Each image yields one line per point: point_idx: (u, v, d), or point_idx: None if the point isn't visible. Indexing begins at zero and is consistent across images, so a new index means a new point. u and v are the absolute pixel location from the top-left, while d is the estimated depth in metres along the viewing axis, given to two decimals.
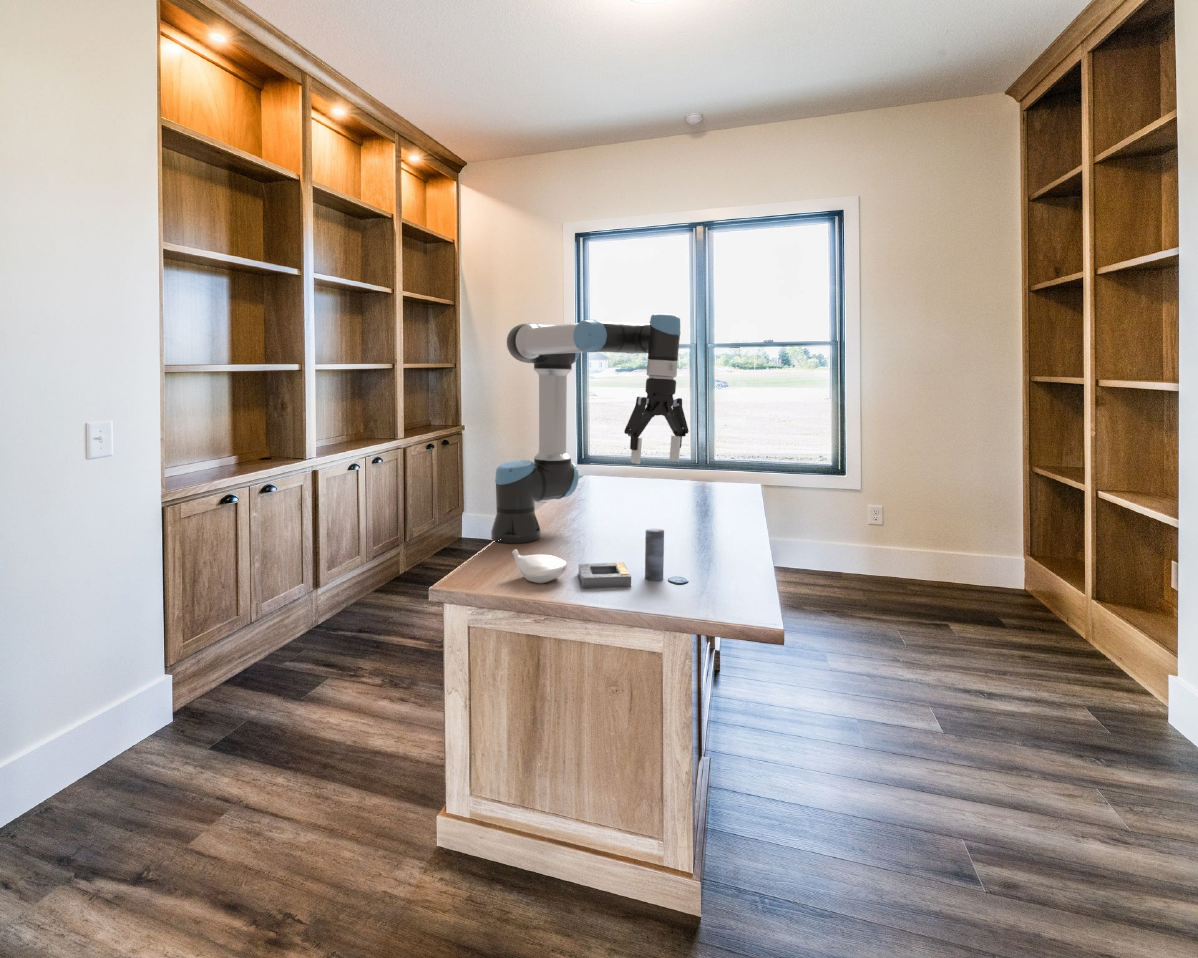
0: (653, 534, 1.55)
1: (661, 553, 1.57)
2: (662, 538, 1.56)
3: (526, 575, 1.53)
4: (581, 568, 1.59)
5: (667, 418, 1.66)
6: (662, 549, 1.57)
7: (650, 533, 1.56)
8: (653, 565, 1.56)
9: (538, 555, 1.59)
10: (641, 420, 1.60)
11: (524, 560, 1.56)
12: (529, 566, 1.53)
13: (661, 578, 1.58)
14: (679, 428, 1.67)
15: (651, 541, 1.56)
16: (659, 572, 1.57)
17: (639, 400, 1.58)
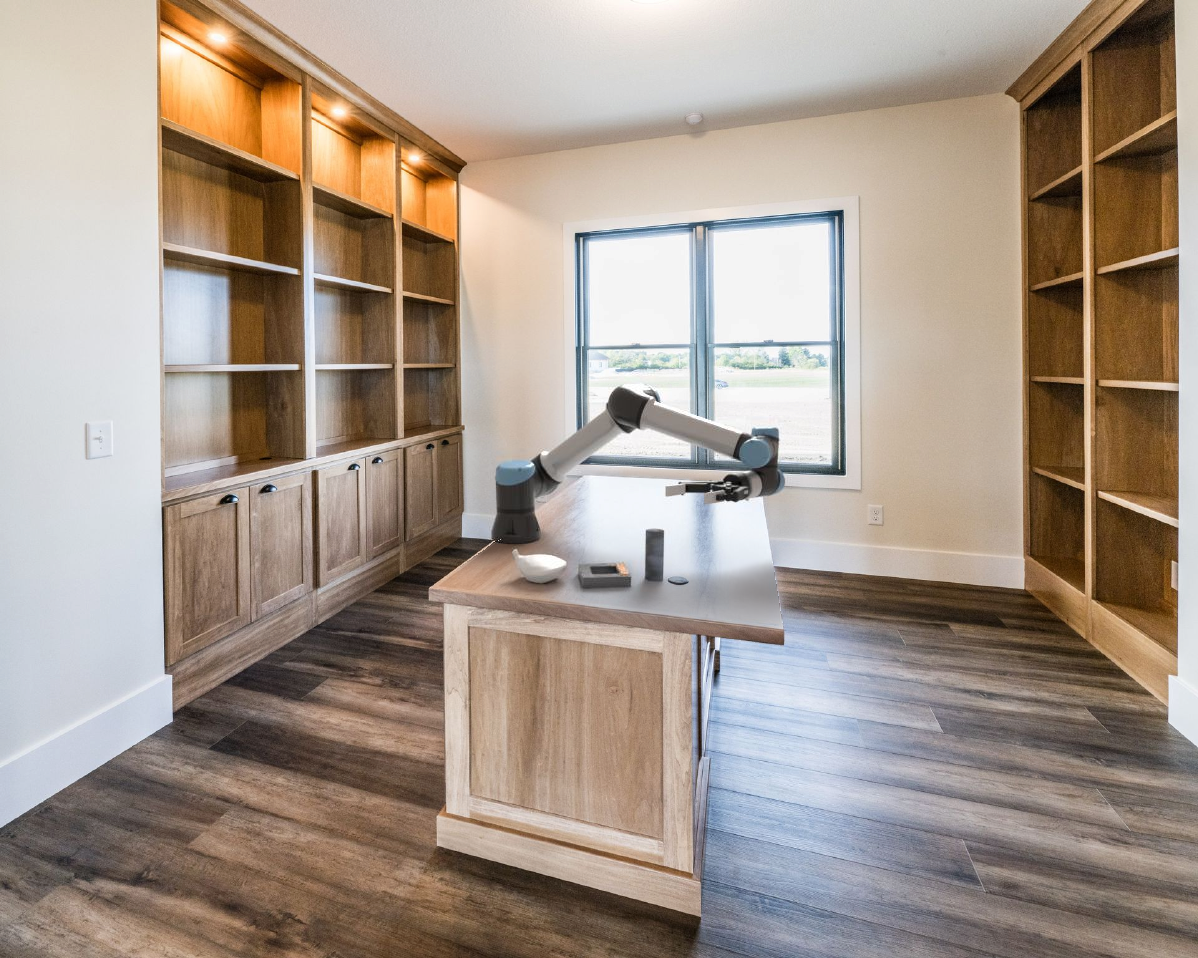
0: (653, 534, 1.55)
1: (661, 553, 1.57)
2: (662, 538, 1.56)
3: (526, 575, 1.53)
4: (581, 568, 1.59)
5: (704, 486, 1.72)
6: (662, 549, 1.57)
7: (650, 533, 1.56)
8: (653, 565, 1.56)
9: (538, 555, 1.59)
10: None
11: (524, 560, 1.56)
12: (529, 566, 1.53)
13: (661, 578, 1.58)
14: None
15: (651, 541, 1.56)
16: (659, 572, 1.57)
17: (747, 491, 1.67)
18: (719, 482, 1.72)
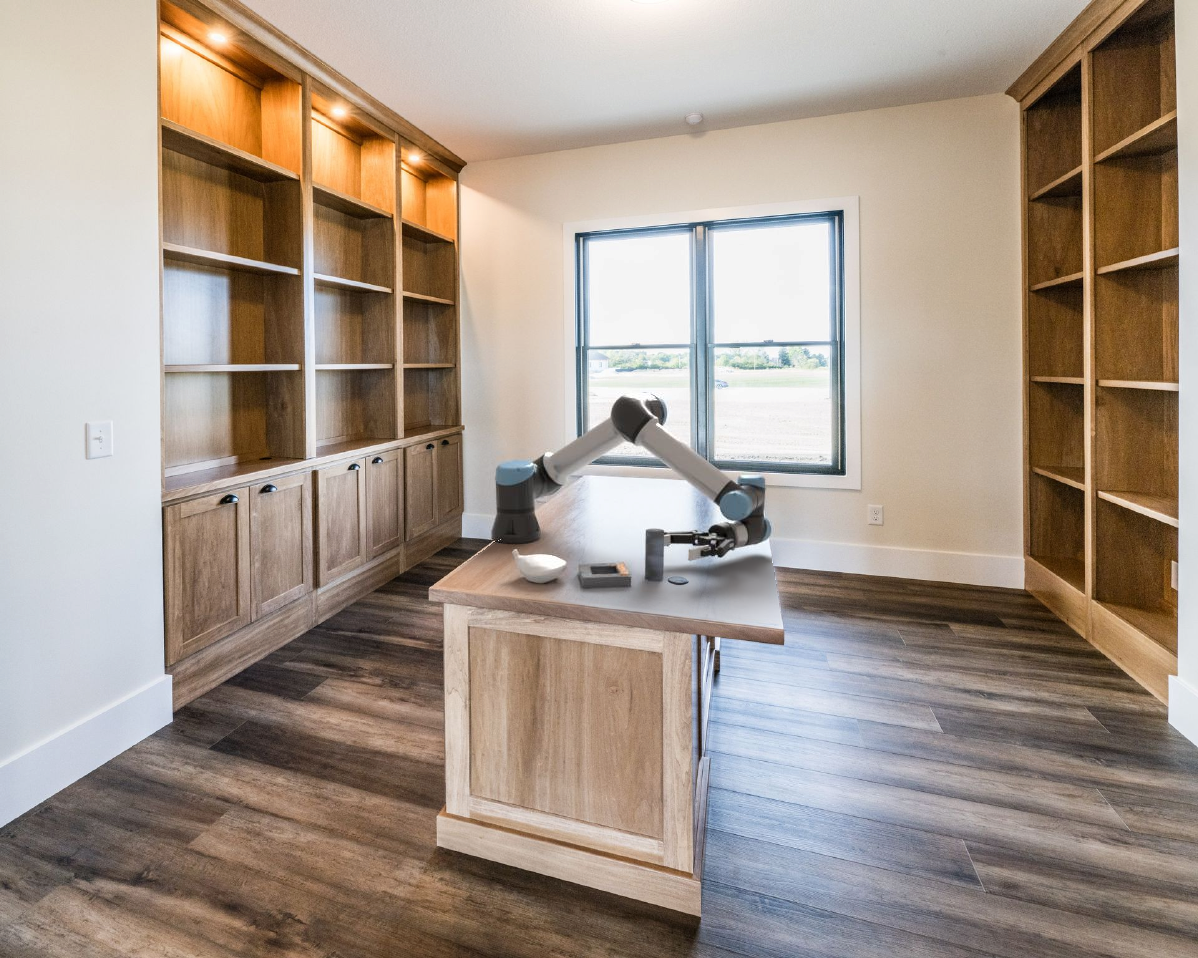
0: (653, 534, 1.55)
1: (661, 553, 1.57)
2: (662, 538, 1.56)
3: (526, 575, 1.53)
4: (581, 568, 1.59)
5: (690, 537, 1.70)
6: (662, 549, 1.57)
7: (650, 533, 1.56)
8: (653, 565, 1.56)
9: (538, 555, 1.59)
10: None
11: (524, 560, 1.56)
12: (529, 566, 1.53)
13: (661, 578, 1.58)
14: None
15: (651, 541, 1.56)
16: (659, 572, 1.57)
17: (732, 544, 1.65)
18: (704, 533, 1.70)
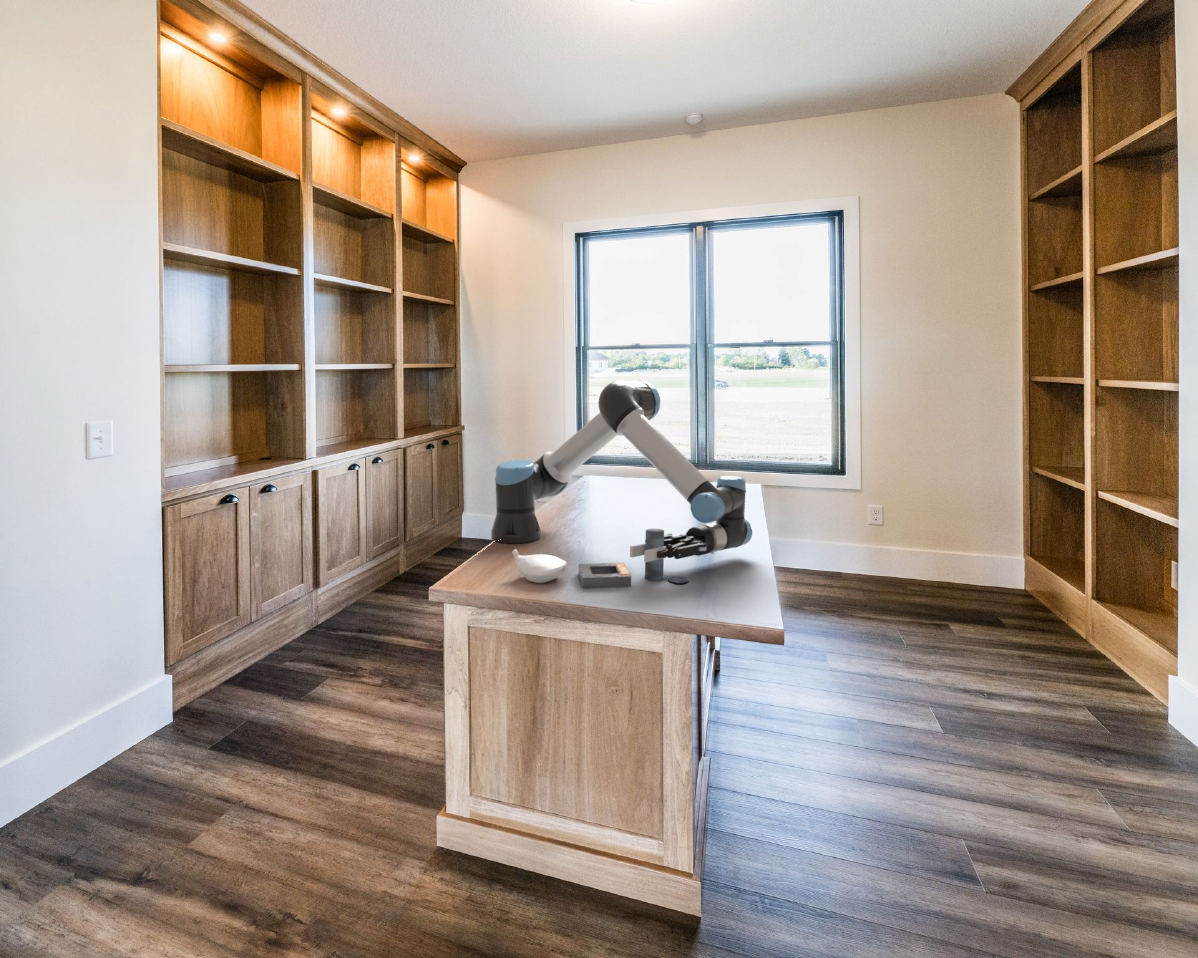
0: (653, 534, 1.55)
1: None
2: (662, 538, 1.56)
3: (526, 575, 1.53)
4: (581, 568, 1.59)
5: (670, 542, 1.64)
6: None
7: (650, 533, 1.56)
8: (653, 565, 1.56)
9: (538, 555, 1.59)
10: None
11: (524, 560, 1.57)
12: (529, 566, 1.53)
13: (661, 578, 1.58)
14: None
15: (651, 541, 1.56)
16: (659, 572, 1.57)
17: (704, 549, 1.60)
18: (683, 536, 1.65)
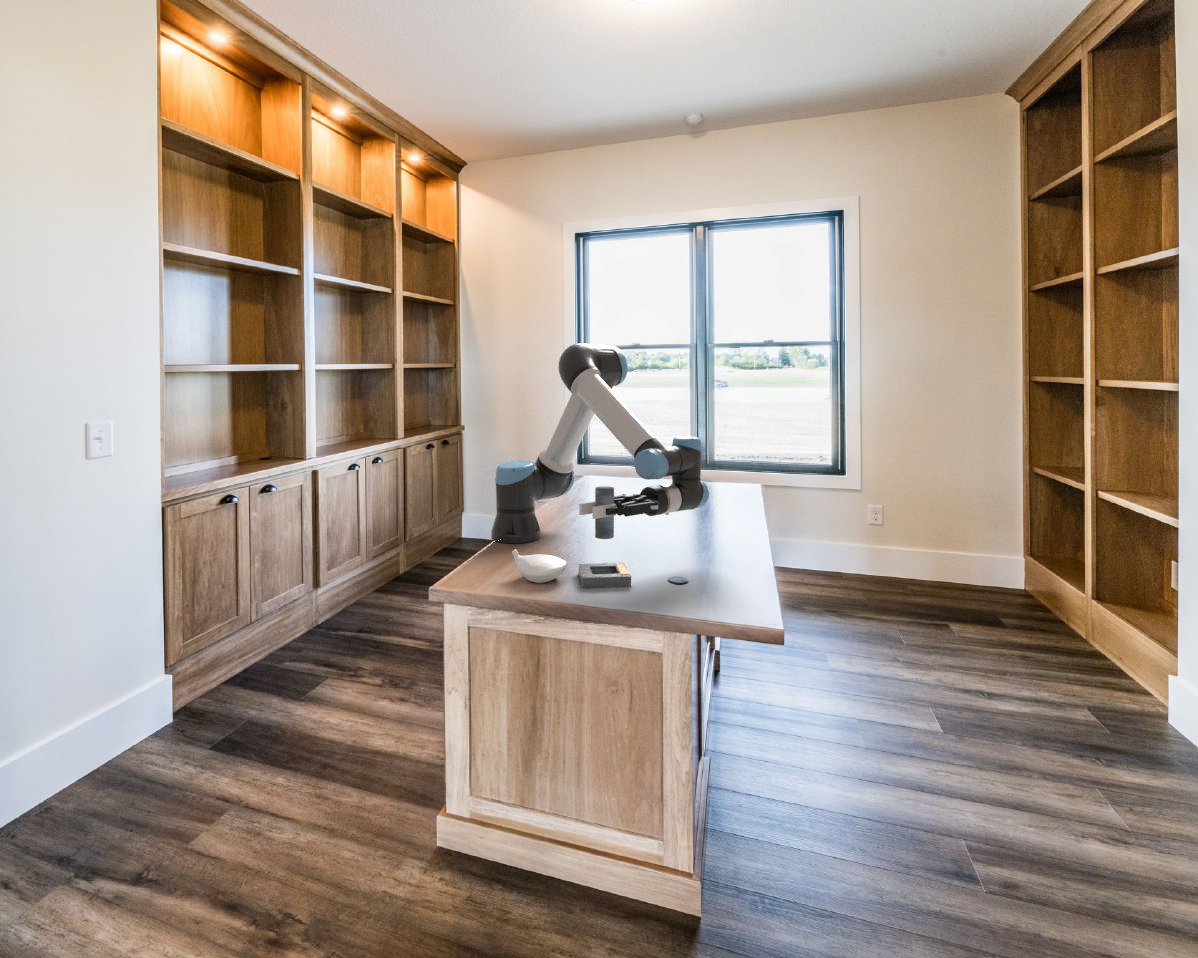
0: (602, 491, 1.52)
1: None
2: (612, 495, 1.53)
3: (526, 575, 1.53)
4: (581, 568, 1.59)
5: (622, 502, 1.61)
6: None
7: (599, 490, 1.52)
8: (603, 522, 1.53)
9: (538, 555, 1.59)
10: None
11: (524, 560, 1.57)
12: (529, 566, 1.53)
13: (611, 536, 1.55)
14: None
15: (601, 498, 1.53)
16: (609, 530, 1.54)
17: (655, 507, 1.56)
18: (636, 496, 1.62)
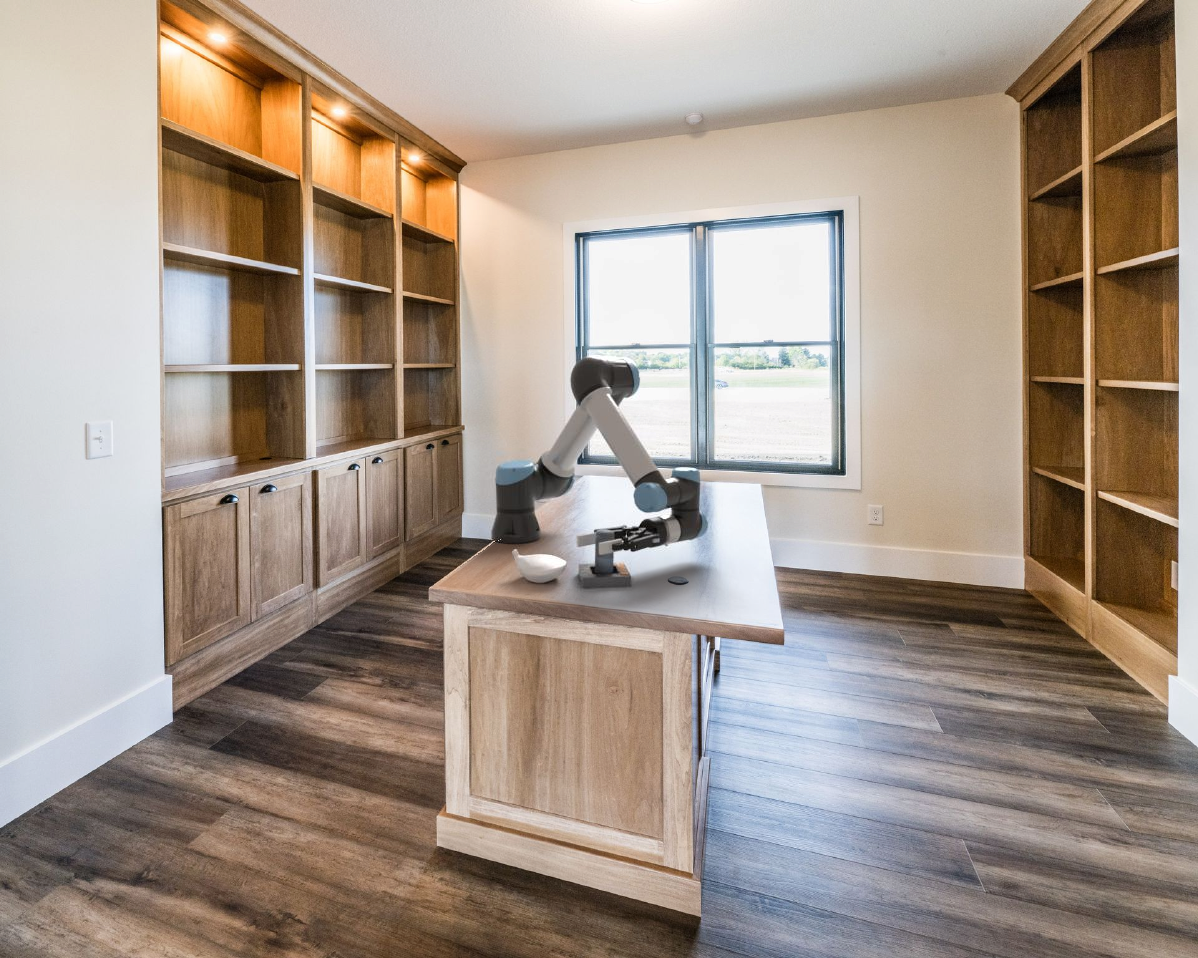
0: (602, 536, 1.54)
1: (610, 555, 1.55)
2: None
3: (526, 575, 1.53)
4: (581, 568, 1.59)
5: (620, 533, 1.63)
6: None
7: (599, 534, 1.54)
8: (602, 566, 1.55)
9: (538, 555, 1.59)
10: None
11: (524, 560, 1.57)
12: (529, 566, 1.53)
13: None
14: None
15: None
16: None
17: (657, 540, 1.58)
18: (635, 528, 1.63)
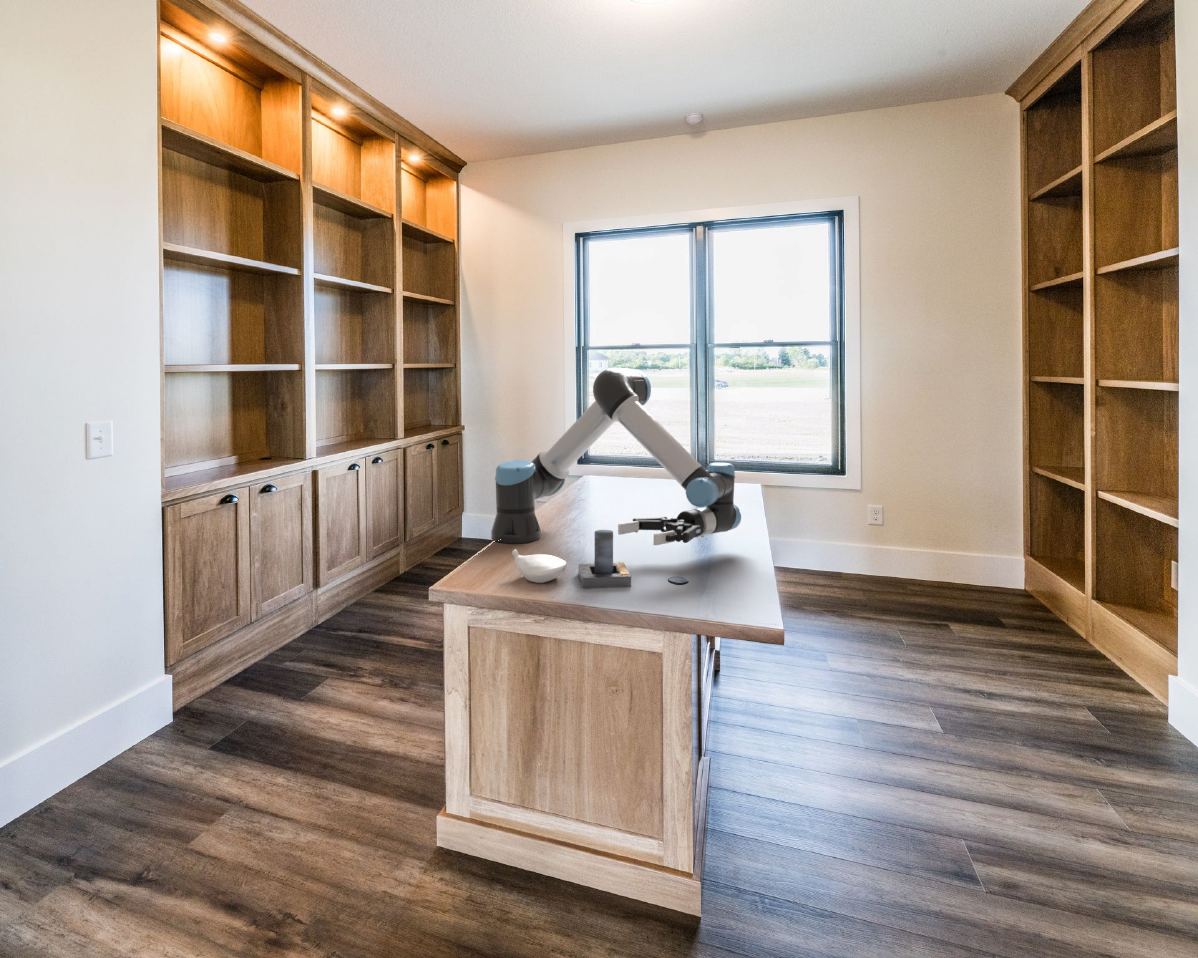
0: (601, 535, 1.54)
1: (609, 554, 1.55)
2: (611, 539, 1.55)
3: (526, 575, 1.53)
4: (581, 568, 1.59)
5: (658, 524, 1.72)
6: (611, 550, 1.55)
7: (598, 534, 1.54)
8: (602, 566, 1.55)
9: (538, 555, 1.59)
10: None
11: (524, 560, 1.57)
12: (529, 566, 1.53)
13: None
14: None
15: (600, 542, 1.54)
16: None
17: (699, 530, 1.67)
18: (673, 520, 1.72)
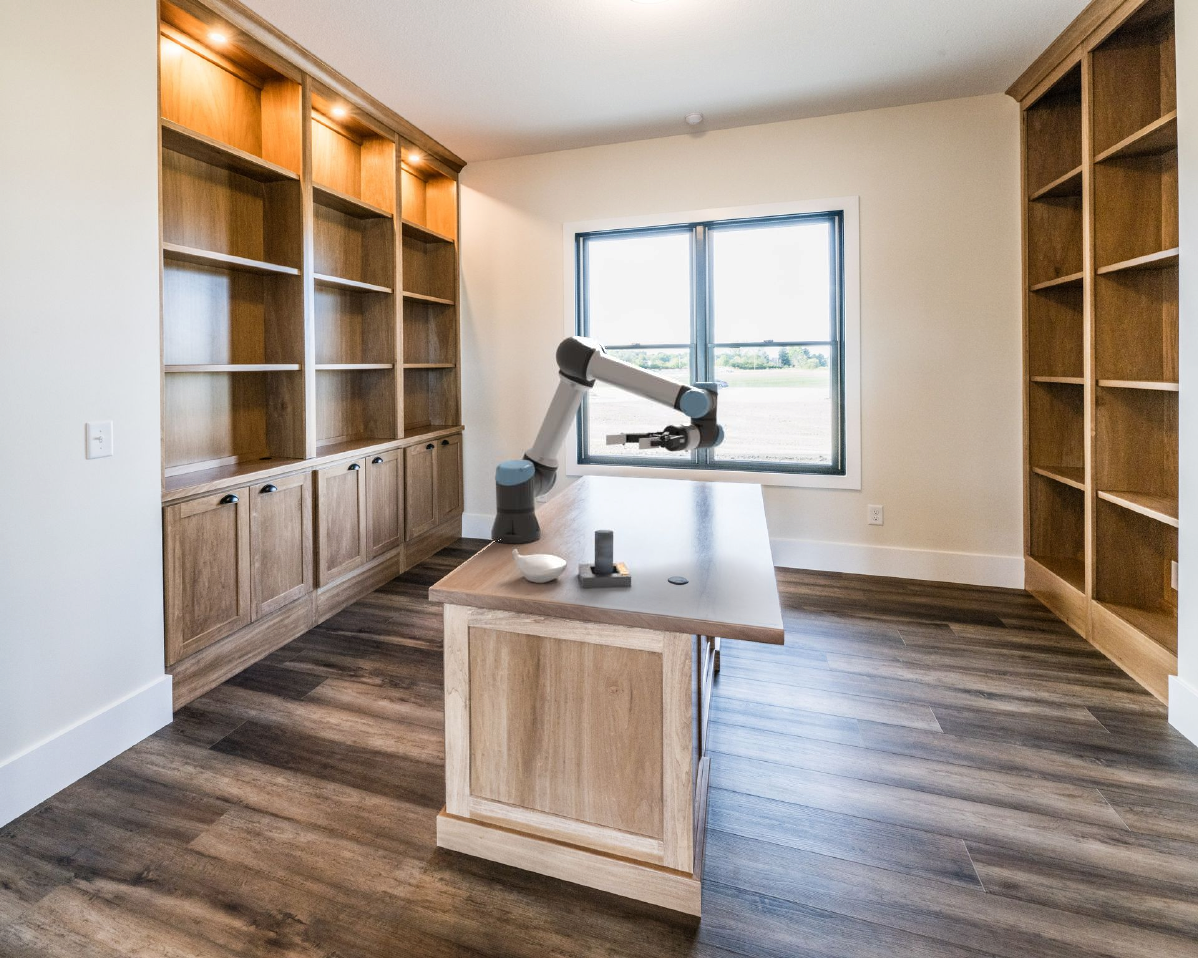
0: (602, 535, 1.54)
1: (610, 554, 1.55)
2: (611, 539, 1.55)
3: (526, 575, 1.53)
4: (581, 568, 1.59)
5: (644, 437, 1.81)
6: (611, 550, 1.55)
7: (599, 534, 1.54)
8: (602, 566, 1.55)
9: (538, 555, 1.59)
10: None
11: (524, 560, 1.57)
12: (529, 566, 1.53)
13: None
14: (630, 442, 1.82)
15: (600, 542, 1.54)
16: None
17: (683, 440, 1.75)
18: (658, 432, 1.80)
